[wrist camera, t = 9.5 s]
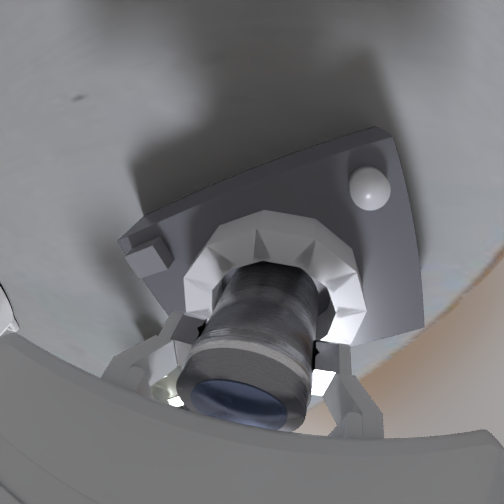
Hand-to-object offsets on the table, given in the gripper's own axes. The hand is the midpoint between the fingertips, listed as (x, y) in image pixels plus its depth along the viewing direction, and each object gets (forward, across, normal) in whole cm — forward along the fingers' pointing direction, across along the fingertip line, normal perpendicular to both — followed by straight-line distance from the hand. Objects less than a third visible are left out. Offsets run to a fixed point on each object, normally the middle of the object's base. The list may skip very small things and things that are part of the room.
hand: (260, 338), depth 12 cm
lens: (+3, 0, 0) cm, 3 cm away
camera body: (+8, 0, -1) cm, 8 cm away
